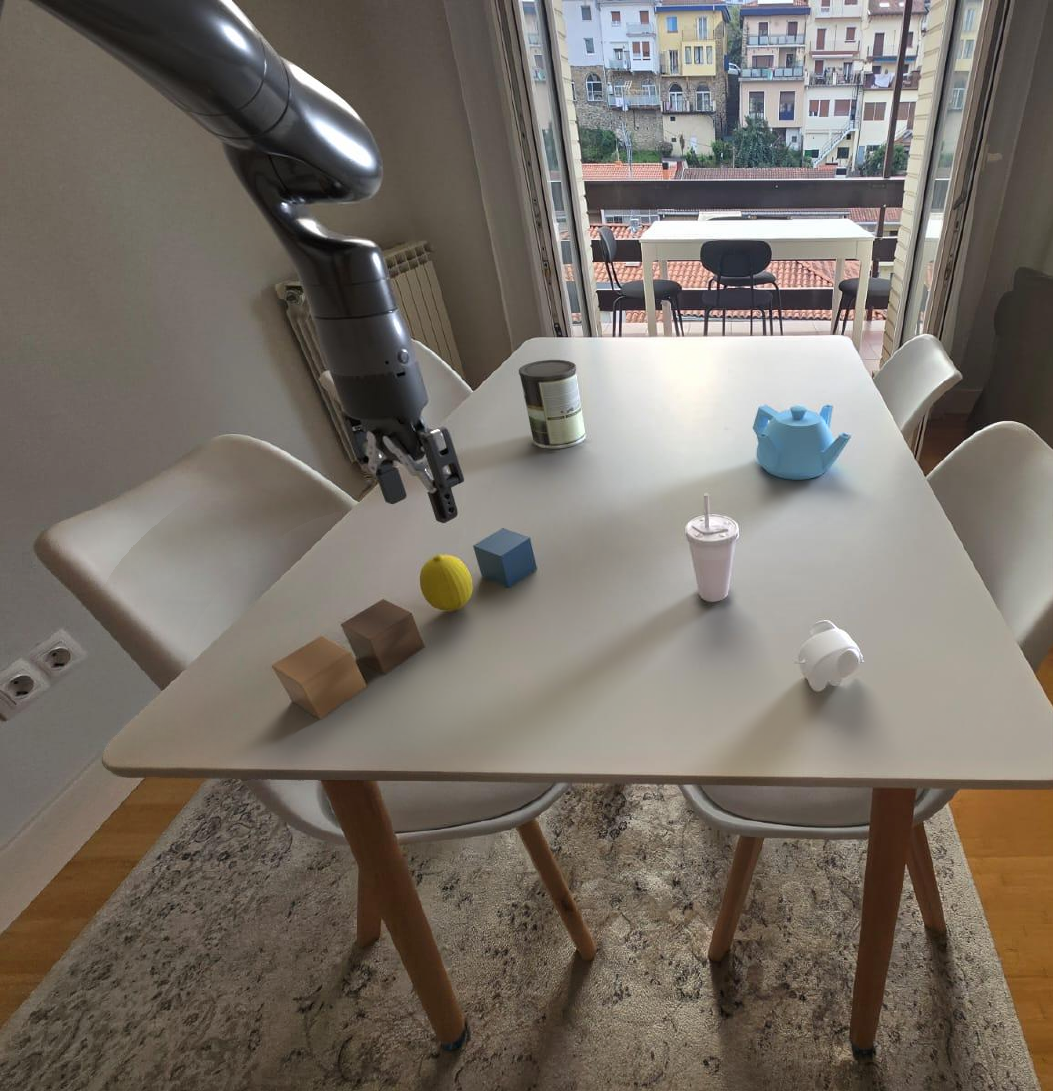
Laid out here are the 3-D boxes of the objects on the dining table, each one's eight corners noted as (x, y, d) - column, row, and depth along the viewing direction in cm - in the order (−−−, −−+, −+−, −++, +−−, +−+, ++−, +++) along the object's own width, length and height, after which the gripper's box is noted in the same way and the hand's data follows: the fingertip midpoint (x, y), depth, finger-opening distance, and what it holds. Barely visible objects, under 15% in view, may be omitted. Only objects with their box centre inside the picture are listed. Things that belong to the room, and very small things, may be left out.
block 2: (384, 674, 64) (369, 639, 61) (356, 658, 66) (340, 624, 63) (425, 646, 67) (411, 612, 65) (396, 632, 70) (383, 598, 67)
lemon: (469, 624, 71) (451, 569, 66) (423, 624, 71) (402, 569, 66) (485, 595, 75) (470, 542, 71) (442, 595, 75) (424, 542, 71)
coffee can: (524, 448, 114) (509, 375, 106) (543, 428, 122) (530, 359, 115) (576, 450, 113) (565, 376, 105) (592, 429, 121) (582, 360, 114)
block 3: (508, 588, 76) (500, 556, 74) (481, 577, 79) (472, 545, 76) (537, 568, 80) (530, 537, 77) (510, 558, 82) (502, 527, 80)
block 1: (320, 719, 59) (299, 683, 56) (291, 700, 61) (270, 665, 58) (367, 686, 62) (350, 651, 60) (338, 670, 64) (321, 635, 62)
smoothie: (693, 575, 78) (688, 480, 71) (741, 579, 78) (742, 483, 70) (683, 606, 73) (677, 506, 65) (735, 610, 72) (735, 510, 65)
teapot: (831, 447, 113) (836, 392, 107) (847, 483, 100) (853, 422, 94) (751, 448, 113) (752, 393, 107) (756, 485, 100) (757, 424, 94)
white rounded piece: (876, 690, 61) (884, 647, 58) (806, 712, 59) (810, 668, 56) (843, 648, 67) (848, 606, 63) (778, 666, 64) (780, 624, 61)
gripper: (290, 361, 57) (350, 509, 66) (384, 382, 51) (436, 543, 60) (364, 343, 62) (410, 482, 71) (456, 361, 56) (494, 510, 65)
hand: (422, 510), depth 65 cm, fingers open, 8 cm apart
